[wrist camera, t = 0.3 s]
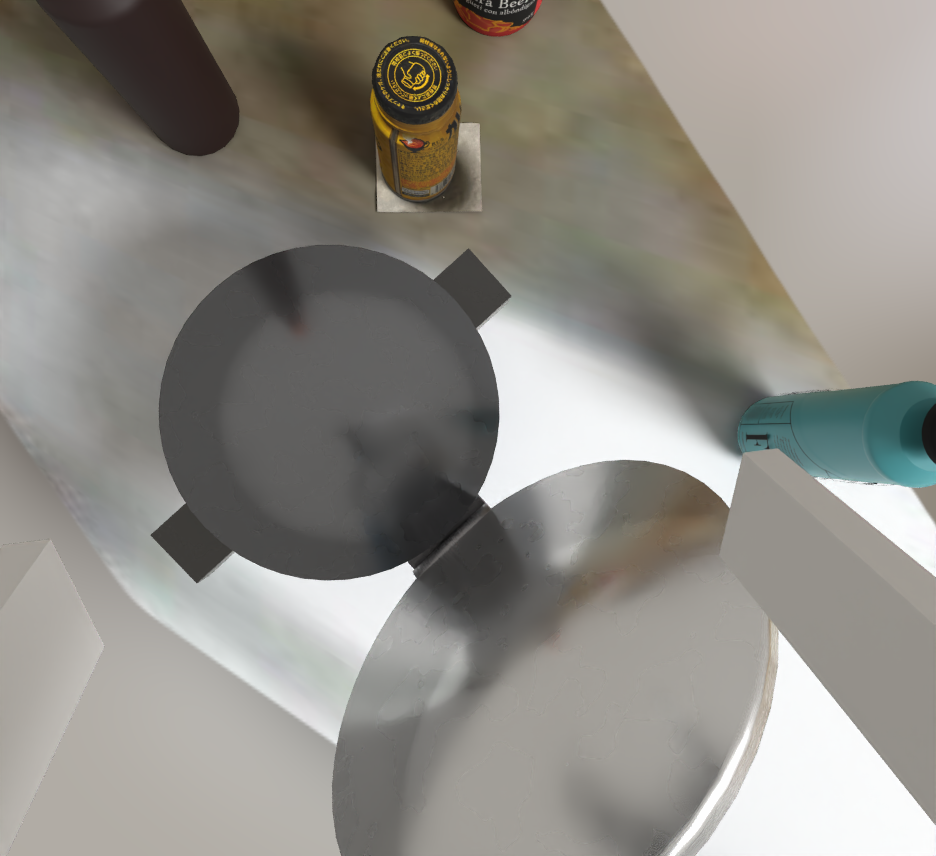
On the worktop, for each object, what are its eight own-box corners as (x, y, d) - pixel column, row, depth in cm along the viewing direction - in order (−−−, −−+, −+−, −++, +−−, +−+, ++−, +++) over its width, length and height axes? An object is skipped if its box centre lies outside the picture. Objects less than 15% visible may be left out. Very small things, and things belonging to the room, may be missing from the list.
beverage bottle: (709, 430, 49) (906, 429, 29) (766, 379, 49) (1001, 342, 29) (758, 488, 49) (988, 528, 29) (815, 437, 49) (1080, 441, 29)
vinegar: (220, 60, 46) (61, -226, 26) (255, 139, 46) (124, -85, 26) (138, 91, 45) (-87, -176, 25) (174, 171, 46) (-22, -32, 26)
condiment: (375, 123, 47) (357, 16, 35) (479, 124, 47) (497, 20, 35) (377, 213, 47) (360, 137, 35) (481, 213, 47) (500, 138, 35)
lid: (570, 417, 36) (599, 454, 37) (319, 652, 35) (358, 683, 36) (923, 579, 16) (963, 649, 17) (351, 1156, 15) (437, 1188, 16)
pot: (572, 415, 48) (620, 410, 36) (337, 636, 46) (305, 707, 34) (391, 217, 47) (379, 143, 35) (145, 435, 45) (44, 437, 33)
